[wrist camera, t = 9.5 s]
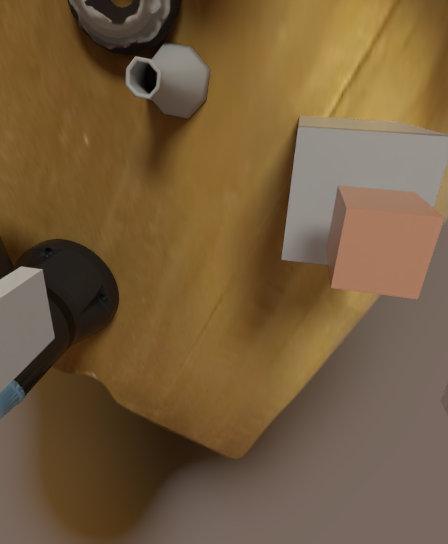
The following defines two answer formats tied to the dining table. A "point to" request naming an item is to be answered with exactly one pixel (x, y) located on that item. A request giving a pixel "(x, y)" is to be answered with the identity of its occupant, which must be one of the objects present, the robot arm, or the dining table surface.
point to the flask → (170, 79)
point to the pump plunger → (381, 241)
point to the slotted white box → (354, 172)
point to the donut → (125, 23)
